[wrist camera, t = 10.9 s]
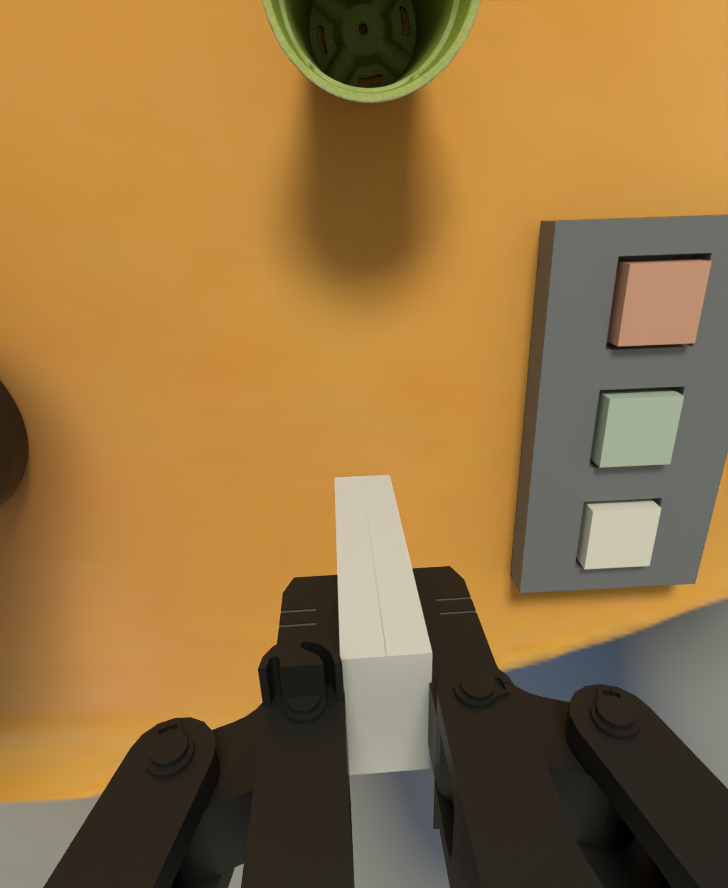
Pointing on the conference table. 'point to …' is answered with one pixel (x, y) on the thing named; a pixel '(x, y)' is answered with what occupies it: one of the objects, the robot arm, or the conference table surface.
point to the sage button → (636, 426)
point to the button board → (607, 368)
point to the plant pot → (371, 42)
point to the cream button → (617, 533)
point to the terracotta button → (657, 301)
